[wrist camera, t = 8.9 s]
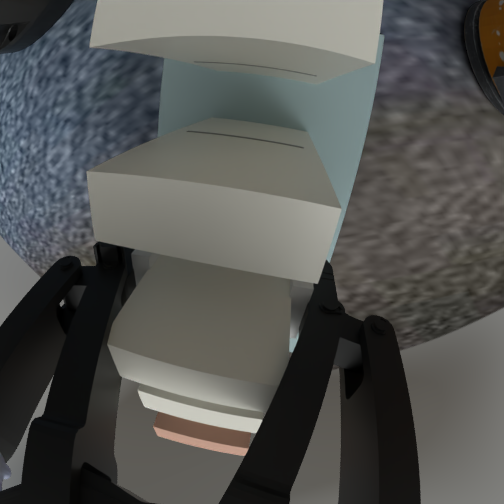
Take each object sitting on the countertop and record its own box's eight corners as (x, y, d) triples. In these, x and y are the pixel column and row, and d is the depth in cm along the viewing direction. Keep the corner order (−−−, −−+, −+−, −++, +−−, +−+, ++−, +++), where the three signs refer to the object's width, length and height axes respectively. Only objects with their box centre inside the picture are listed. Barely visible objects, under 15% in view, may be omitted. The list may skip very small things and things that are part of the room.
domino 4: (201, 252, 19) (137, 389, 10) (278, 267, 19) (262, 419, 10) (200, 273, 20) (144, 407, 11) (274, 287, 20) (256, 433, 11)
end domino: (200, 301, 22) (153, 426, 13) (267, 314, 22) (248, 448, 12) (199, 317, 23) (157, 436, 14) (263, 329, 23) (244, 456, 13)
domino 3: (201, 197, 16) (100, 341, 7) (292, 213, 16) (287, 386, 7) (199, 225, 17) (114, 374, 8) (286, 240, 17) (273, 413, 8)
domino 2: (211, 117, 14) (86, 170, 5) (307, 131, 14) (342, 207, 5) (208, 147, 15) (95, 241, 6) (301, 162, 15) (317, 284, 6)
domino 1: (221, 41, 12) (103, -24, 3) (321, 54, 12) (385, -17, 3) (217, 71, 13) (89, 48, 4) (316, 85, 13) (374, 64, 4)
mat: (174, 9, 11) (172, 8, 11) (382, 36, 11) (384, 35, 10) (166, 324, 25) (165, 326, 24) (295, 350, 24) (295, 352, 24)
